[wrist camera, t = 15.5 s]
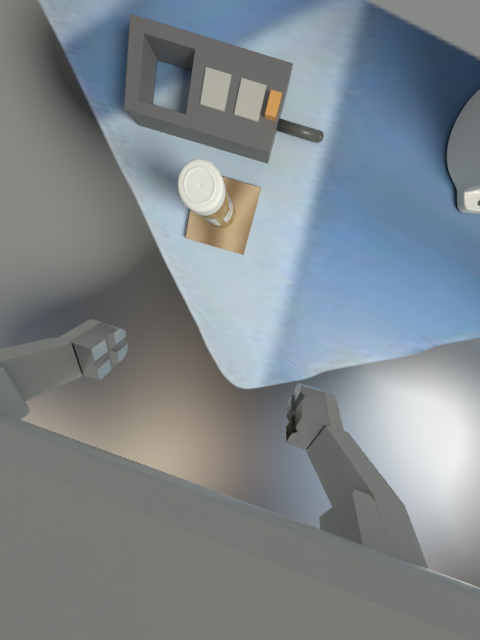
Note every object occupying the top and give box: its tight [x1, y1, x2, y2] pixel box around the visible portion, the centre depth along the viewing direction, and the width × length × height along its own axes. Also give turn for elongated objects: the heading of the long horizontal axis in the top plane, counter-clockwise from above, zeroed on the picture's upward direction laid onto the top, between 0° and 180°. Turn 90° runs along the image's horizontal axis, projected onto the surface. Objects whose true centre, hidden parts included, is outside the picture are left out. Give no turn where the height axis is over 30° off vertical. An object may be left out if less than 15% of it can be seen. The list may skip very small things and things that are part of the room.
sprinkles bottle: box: [178, 159, 235, 228], centre depth 26 cm, size 5×5×13 cm
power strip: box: [124, 14, 324, 163], centre depth 27 cm, size 27×9×4 cm, turn 75°
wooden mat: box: [186, 176, 261, 255], centre depth 32 cm, size 10×10×1 cm
